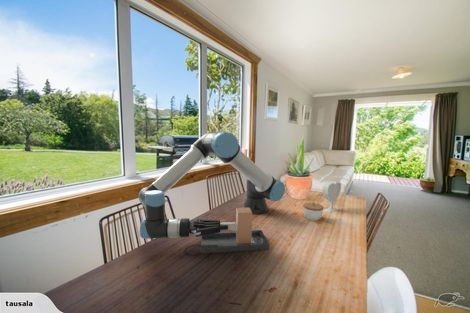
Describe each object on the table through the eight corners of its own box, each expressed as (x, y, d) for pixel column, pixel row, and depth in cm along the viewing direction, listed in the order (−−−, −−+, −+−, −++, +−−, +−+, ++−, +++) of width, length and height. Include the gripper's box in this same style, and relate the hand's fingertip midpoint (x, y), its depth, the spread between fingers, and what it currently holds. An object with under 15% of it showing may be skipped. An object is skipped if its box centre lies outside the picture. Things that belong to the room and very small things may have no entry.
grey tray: (200, 253, 86) (200, 247, 86) (201, 237, 99) (201, 232, 99) (268, 249, 89) (268, 244, 89) (261, 235, 102) (261, 230, 102)
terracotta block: (237, 244, 91) (237, 212, 90) (235, 237, 97) (236, 207, 96) (251, 243, 92) (252, 212, 90) (248, 237, 98) (249, 207, 96)
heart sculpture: (327, 213, 132) (329, 184, 130) (320, 210, 136) (321, 182, 134) (340, 208, 141) (342, 181, 139) (333, 206, 145) (335, 179, 143)
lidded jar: (323, 217, 126) (324, 201, 125) (322, 223, 116) (323, 207, 115) (304, 213, 130) (304, 198, 129) (301, 220, 120) (302, 204, 119)
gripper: (181, 229, 97) (233, 227, 100) (177, 244, 84) (237, 241, 87) (181, 213, 97) (233, 211, 99) (177, 225, 84) (237, 223, 86)
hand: (235, 225), depth 93 cm, fingers closed
